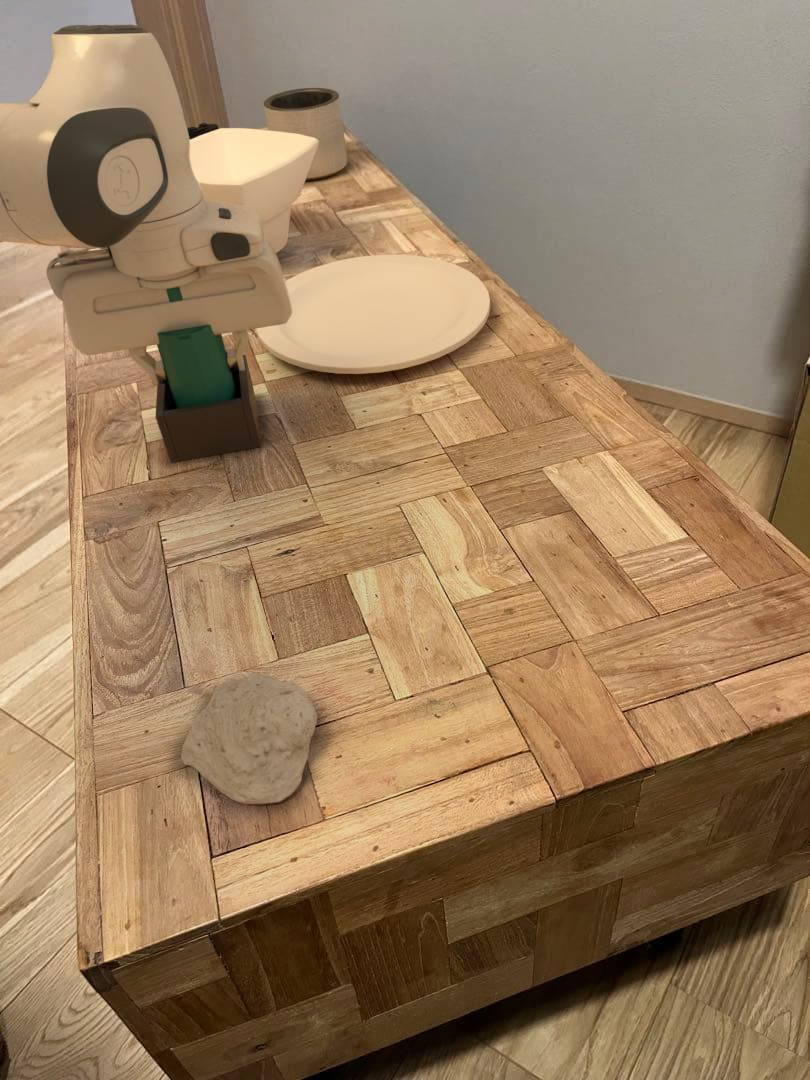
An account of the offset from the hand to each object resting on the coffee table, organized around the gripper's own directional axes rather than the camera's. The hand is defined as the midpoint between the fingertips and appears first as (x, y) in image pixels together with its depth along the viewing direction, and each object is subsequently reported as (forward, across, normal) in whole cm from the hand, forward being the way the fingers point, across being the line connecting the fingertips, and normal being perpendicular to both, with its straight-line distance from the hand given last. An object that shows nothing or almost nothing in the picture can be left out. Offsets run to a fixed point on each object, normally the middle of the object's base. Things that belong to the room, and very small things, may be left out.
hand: (199, 375), depth 81 cm
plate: (+7, +20, +17) cm, 27 cm away
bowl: (+7, +6, +42) cm, 43 cm away
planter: (+7, +18, +74) cm, 76 cm away
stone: (+7, +2, -39) cm, 40 cm away
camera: (+7, -3, +80) cm, 80 cm away
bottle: (+6, 0, 0) cm, 6 cm away
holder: (+6, 0, 0) cm, 6 cm away
